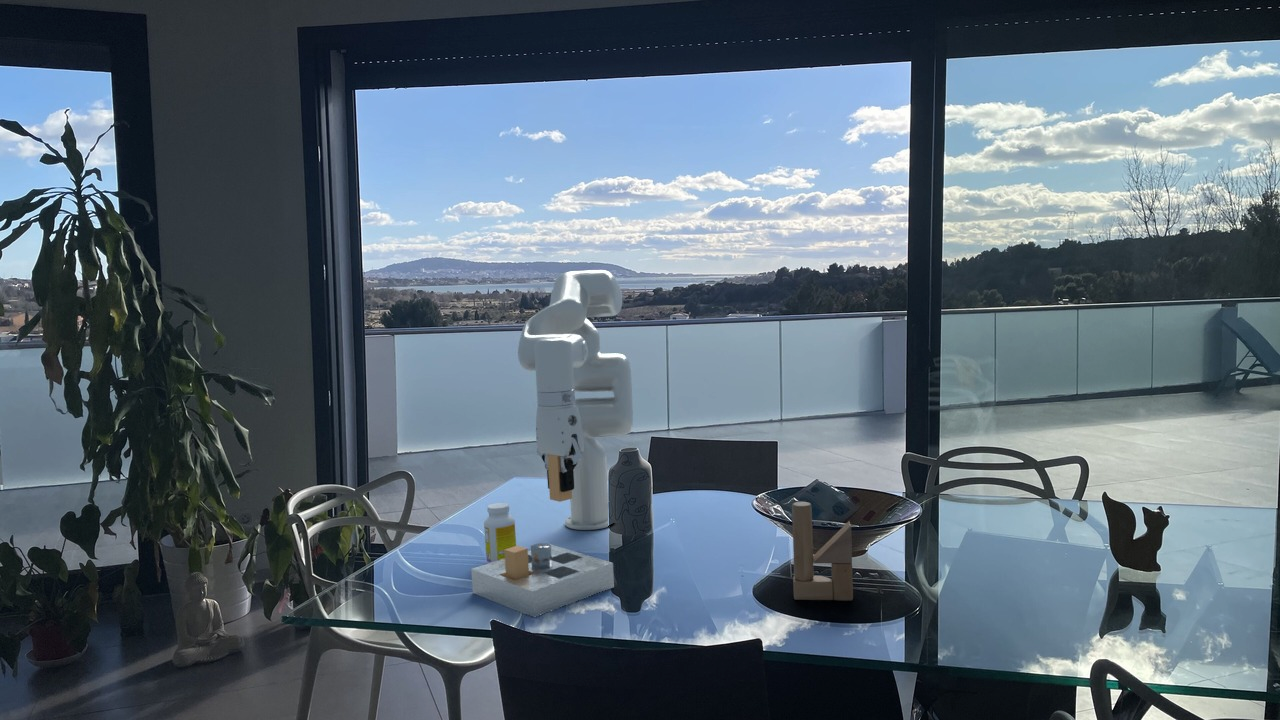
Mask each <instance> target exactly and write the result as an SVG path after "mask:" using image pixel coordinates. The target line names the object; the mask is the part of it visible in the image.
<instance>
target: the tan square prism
mask: <svg viewBox="0 0 1280 720" xmlns="http://www.w3.org/2000/svg"><path fill="white" fill-rule="evenodd" d="M547 456H548V469H547V470H548V474H549V500H550V501H554V502H555V501H556V502H559V503H560V502H563V501H568V500H570V499H572V490H570V491H566V492H561V490H560V473H559V472H562V471H561V464H560V457H558V456H555V455H549V454H547ZM568 460H569V459H566V463H567V461H568Z"/></svg>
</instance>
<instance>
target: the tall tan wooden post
mask: <svg viewBox="0 0 1280 720" xmlns="http://www.w3.org/2000/svg"><path fill="white" fill-rule="evenodd" d="M528 551H529V549H528V548H527V547H523V546H520V545H516V546H514V547H511V548H508V549H505V550H504V552H505V568H506V578H509V579H512V580H514V581H515V580H518V579H521V578H524V577H527V576H529V563H528Z"/></svg>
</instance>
